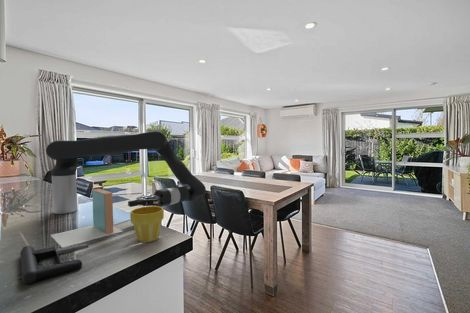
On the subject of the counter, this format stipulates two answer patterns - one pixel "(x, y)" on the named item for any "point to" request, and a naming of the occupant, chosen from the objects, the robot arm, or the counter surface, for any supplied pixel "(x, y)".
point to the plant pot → (147, 222)
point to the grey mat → (80, 235)
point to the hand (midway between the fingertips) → (128, 204)
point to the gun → (34, 273)
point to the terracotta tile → (102, 210)
